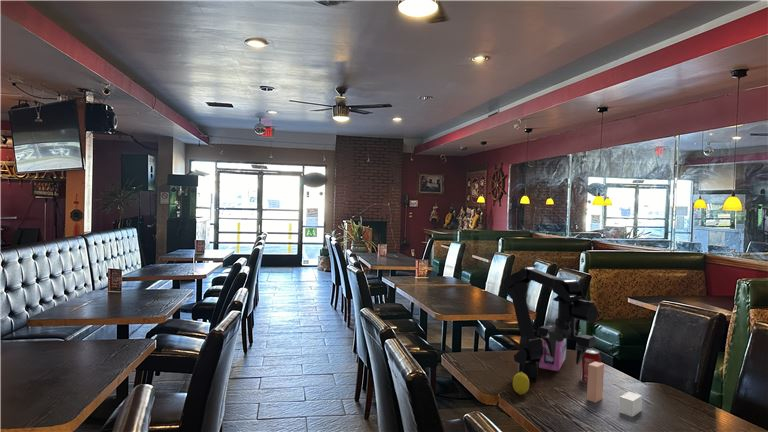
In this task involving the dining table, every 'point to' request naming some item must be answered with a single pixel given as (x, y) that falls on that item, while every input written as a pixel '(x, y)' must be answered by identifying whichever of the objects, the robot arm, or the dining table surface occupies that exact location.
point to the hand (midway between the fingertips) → (564, 360)
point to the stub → (595, 381)
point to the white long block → (630, 403)
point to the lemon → (521, 383)
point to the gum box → (559, 355)
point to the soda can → (587, 359)
